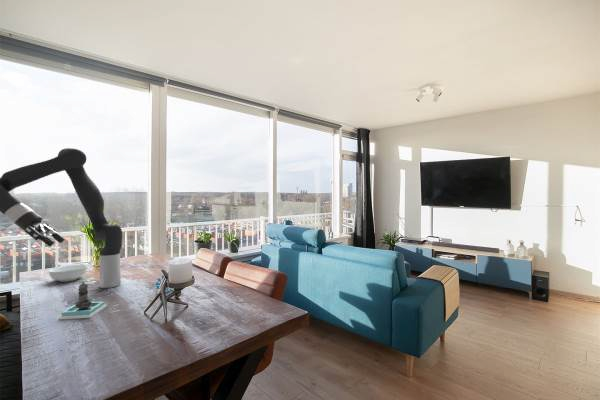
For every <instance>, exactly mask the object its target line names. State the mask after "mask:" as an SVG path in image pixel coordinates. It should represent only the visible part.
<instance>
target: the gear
mask: <svg viewBox="0 0 600 400" xmlns="http://www.w3.org/2000/svg"><path fill="white" fill-rule="evenodd" d="M163 278H164V279H165V275H161V278H160V277H159V278H157V281H156V282H155V285H156V290H160V288H159V287H160V284H161V281H162V280H163ZM161 279H162V280H161ZM167 291H172V292H173V288H171V289H169V288H167Z"/></svg>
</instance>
